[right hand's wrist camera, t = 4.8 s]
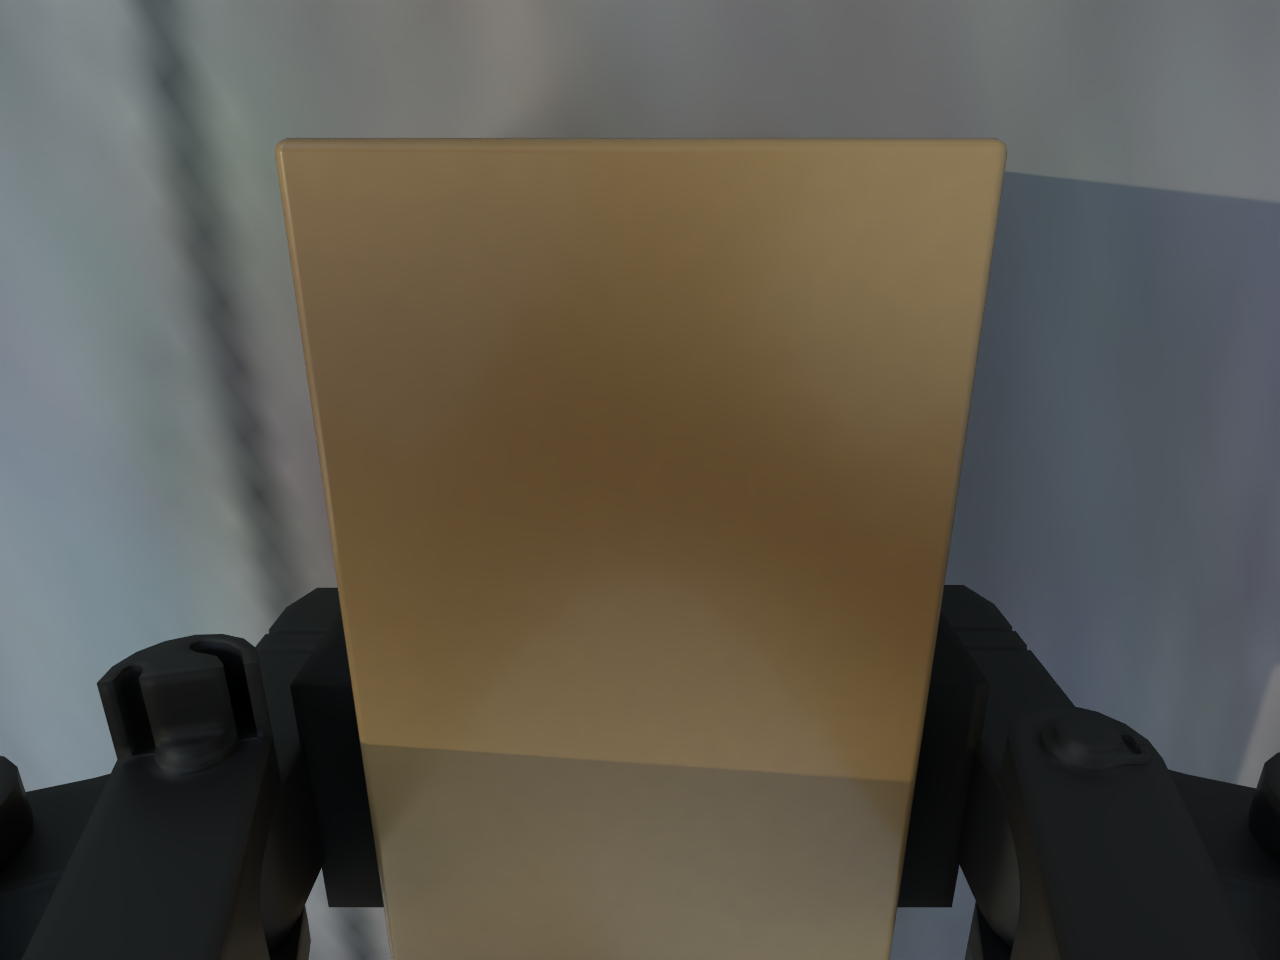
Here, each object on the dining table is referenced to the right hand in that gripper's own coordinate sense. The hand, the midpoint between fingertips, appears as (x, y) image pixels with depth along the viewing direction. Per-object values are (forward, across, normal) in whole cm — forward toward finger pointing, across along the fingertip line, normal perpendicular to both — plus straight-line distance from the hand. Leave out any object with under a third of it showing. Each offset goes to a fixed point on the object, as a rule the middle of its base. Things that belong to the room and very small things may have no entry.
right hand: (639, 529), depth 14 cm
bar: (+1, 0, -32) cm, 32 cm away
